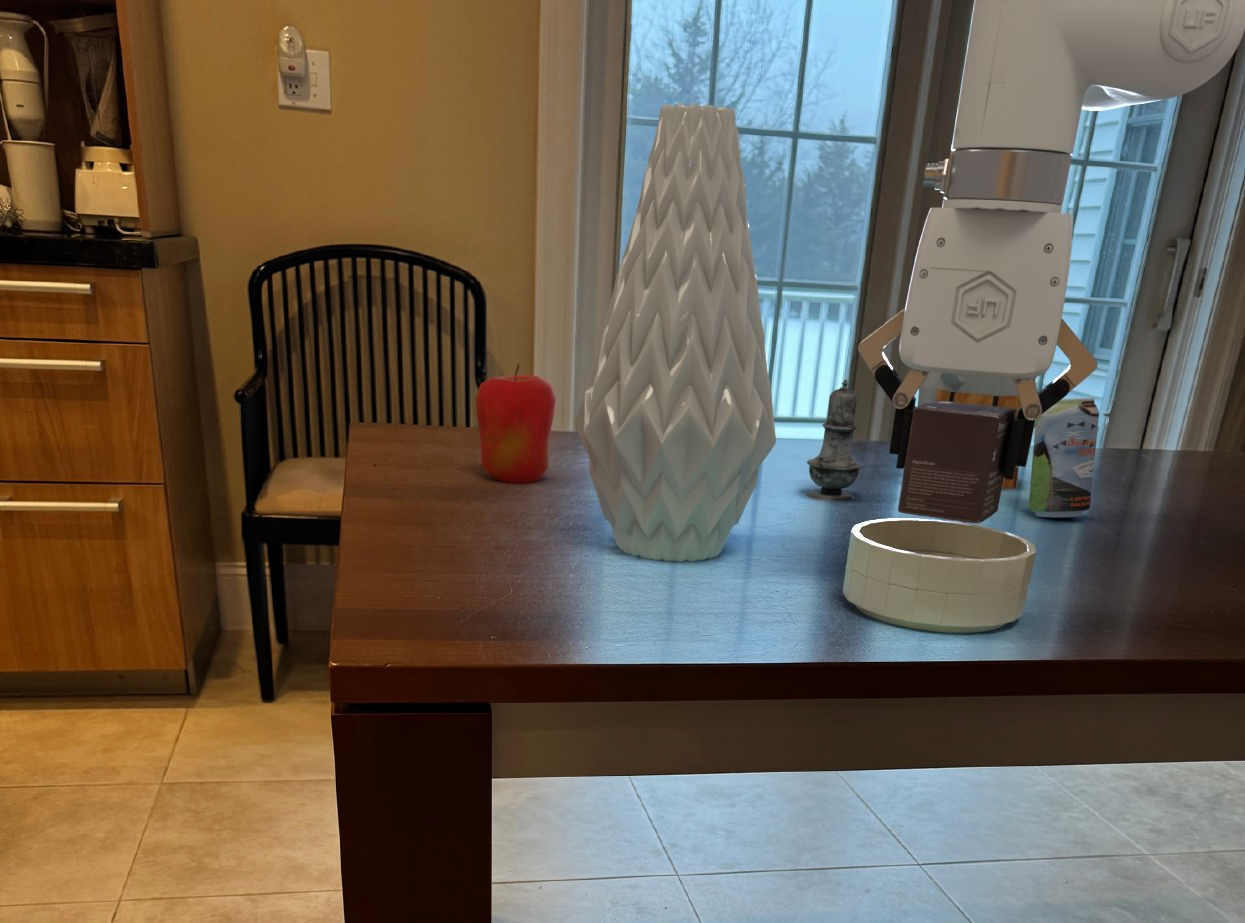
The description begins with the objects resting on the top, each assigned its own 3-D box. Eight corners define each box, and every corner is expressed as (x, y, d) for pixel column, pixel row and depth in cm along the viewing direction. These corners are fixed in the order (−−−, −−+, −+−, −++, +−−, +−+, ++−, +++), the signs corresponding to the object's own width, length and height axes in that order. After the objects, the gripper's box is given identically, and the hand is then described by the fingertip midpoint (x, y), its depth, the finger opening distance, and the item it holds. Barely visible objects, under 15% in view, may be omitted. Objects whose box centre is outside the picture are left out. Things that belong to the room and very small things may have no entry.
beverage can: (1068, 527, 119) (1096, 402, 113) (1004, 513, 124) (1028, 392, 118) (1098, 520, 123) (1126, 399, 117) (1035, 507, 127) (1059, 390, 122)
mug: (939, 465, 149) (961, 338, 142) (1040, 483, 141) (1068, 348, 134) (857, 482, 136) (876, 342, 129) (963, 502, 128) (990, 354, 121)
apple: (516, 469, 132) (517, 357, 127) (570, 481, 128) (574, 365, 122) (459, 477, 126) (458, 360, 121) (514, 490, 122) (515, 368, 116)
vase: (580, 523, 110) (593, 112, 95) (757, 534, 109) (800, 122, 94) (561, 567, 95) (574, 88, 80) (767, 580, 94) (819, 100, 79)
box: (978, 526, 82) (999, 415, 78) (894, 514, 84) (911, 406, 81) (998, 512, 86) (1019, 407, 83) (918, 501, 89) (935, 398, 86)
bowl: (1019, 600, 93) (1034, 530, 90) (1020, 647, 81) (1037, 569, 79) (852, 579, 96) (862, 511, 93) (831, 622, 85) (841, 546, 82)
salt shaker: (842, 505, 123) (858, 383, 118) (793, 496, 126) (806, 377, 121) (867, 498, 127) (884, 380, 122) (819, 489, 131) (833, 374, 125)
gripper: (863, 177, 75) (826, 467, 83) (1153, 190, 71) (1084, 493, 79) (875, 184, 81) (840, 451, 89) (1141, 195, 77) (1078, 475, 85)
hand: (955, 468), depth 84 cm, fingers closed on box, 6 cm apart
